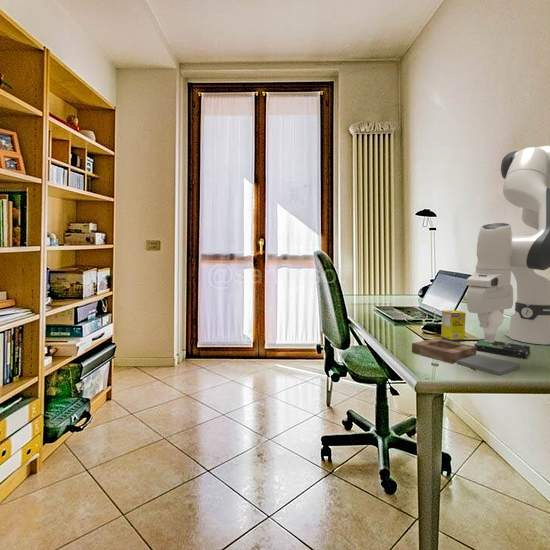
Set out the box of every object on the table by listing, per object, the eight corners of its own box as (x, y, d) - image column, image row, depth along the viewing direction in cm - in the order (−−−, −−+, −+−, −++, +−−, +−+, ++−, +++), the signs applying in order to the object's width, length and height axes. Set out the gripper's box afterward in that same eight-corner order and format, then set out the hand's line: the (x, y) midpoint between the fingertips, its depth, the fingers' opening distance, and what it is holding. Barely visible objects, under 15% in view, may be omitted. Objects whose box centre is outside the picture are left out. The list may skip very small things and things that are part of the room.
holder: (436, 346, 128) (436, 337, 128) (476, 355, 117) (476, 346, 117) (411, 352, 121) (412, 343, 120) (452, 363, 109) (452, 353, 109)
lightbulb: (490, 340, 110) (492, 304, 109) (507, 345, 104) (509, 307, 103) (472, 341, 109) (473, 304, 108) (487, 346, 103) (489, 308, 102)
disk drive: (529, 354, 122) (480, 345, 131) (530, 346, 121) (480, 338, 131) (525, 361, 114) (473, 351, 123) (526, 352, 114) (473, 343, 123)
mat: (477, 357, 116) (477, 354, 115) (519, 367, 106) (519, 364, 106) (457, 363, 109) (457, 360, 109) (499, 375, 99) (500, 371, 99)
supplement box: (464, 341, 135) (466, 312, 135) (450, 341, 135) (451, 312, 134) (454, 337, 141) (455, 309, 141) (440, 338, 140) (441, 310, 140)
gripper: (498, 277, 114) (496, 320, 115) (463, 279, 102) (461, 327, 103) (520, 278, 108) (518, 324, 109) (486, 281, 97) (484, 332, 98)
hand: (490, 326), depth 106 cm, fingers closed on lightbulb, 6 cm apart
